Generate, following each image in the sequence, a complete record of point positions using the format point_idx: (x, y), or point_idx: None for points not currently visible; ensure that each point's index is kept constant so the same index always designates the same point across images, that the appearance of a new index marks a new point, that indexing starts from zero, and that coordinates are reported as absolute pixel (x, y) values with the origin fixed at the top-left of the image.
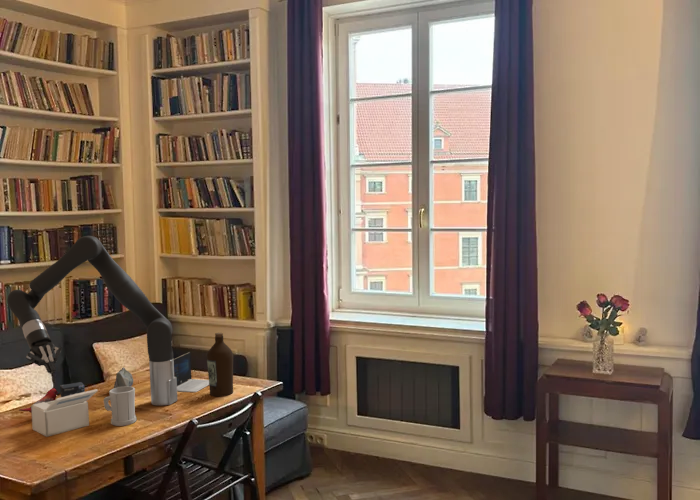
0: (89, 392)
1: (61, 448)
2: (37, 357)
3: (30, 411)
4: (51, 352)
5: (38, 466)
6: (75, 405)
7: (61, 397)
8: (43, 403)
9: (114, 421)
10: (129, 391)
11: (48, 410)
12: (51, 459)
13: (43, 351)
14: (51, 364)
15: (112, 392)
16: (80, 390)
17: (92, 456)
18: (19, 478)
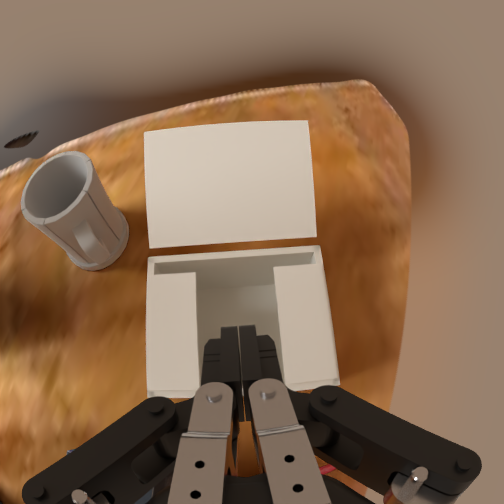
0: (178, 129)
1: None
2: (370, 431)
3: None
4: (178, 461)
5: (357, 121)
6: (198, 254)
7: (289, 121)
8: (295, 359)
9: (124, 223)
10: (60, 153)
11: None
12: (331, 132)
13: (286, 494)
14: (235, 362)
15: (89, 174)
16: None
17: (263, 100)
18: (387, 105)
